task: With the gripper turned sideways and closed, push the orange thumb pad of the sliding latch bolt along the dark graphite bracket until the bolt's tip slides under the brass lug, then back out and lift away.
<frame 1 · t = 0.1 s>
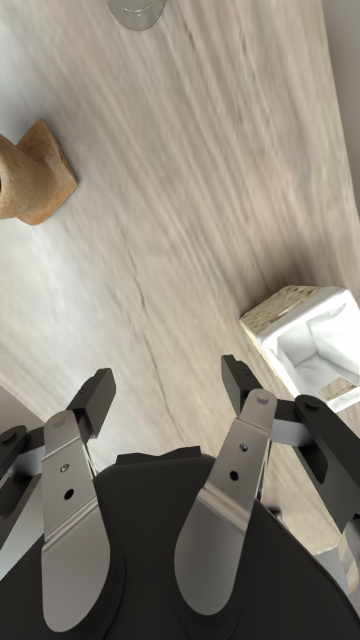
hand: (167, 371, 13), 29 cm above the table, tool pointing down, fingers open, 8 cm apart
storage basket: (281, 332, 45), on the table
stone cup: (47, 190, 33), on the table
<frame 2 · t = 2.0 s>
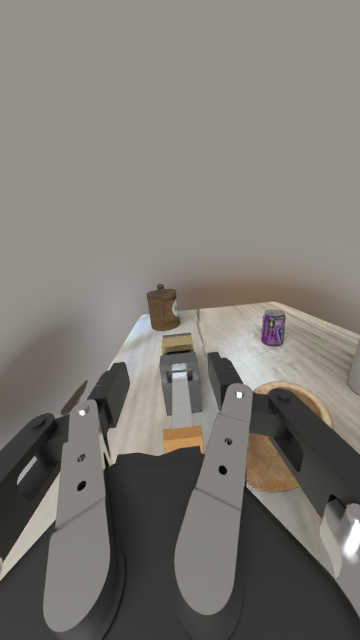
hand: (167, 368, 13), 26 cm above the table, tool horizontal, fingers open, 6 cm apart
beverage can: (271, 343, 65), on the table
latch bracket: (184, 413, 40), on the table
stone cup: (281, 463, 29), on the table
wooden container: (165, 325, 94), on the table
sliding latch bolt: (181, 398, 31), point 10 cm above the table, slide at 0.0 cm
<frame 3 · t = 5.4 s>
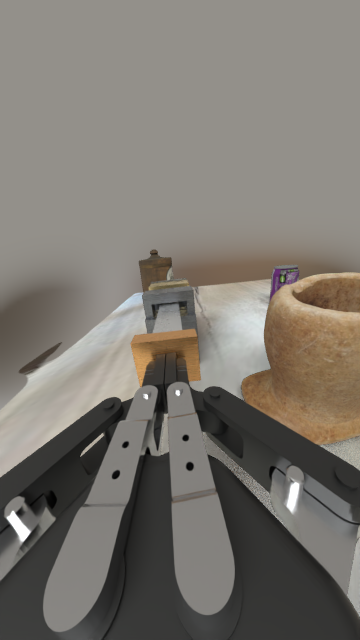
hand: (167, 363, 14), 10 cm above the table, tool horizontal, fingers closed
beverage can: (281, 305, 56), on the table
latch bracket: (176, 366, 30), on the table
stone cup: (317, 413, 20), on the table
wooden container: (160, 299, 84), on the table
sliding latch bolt: (169, 323, 22), point 10 cm above the table, slide at 0.4 cm, touching gripper
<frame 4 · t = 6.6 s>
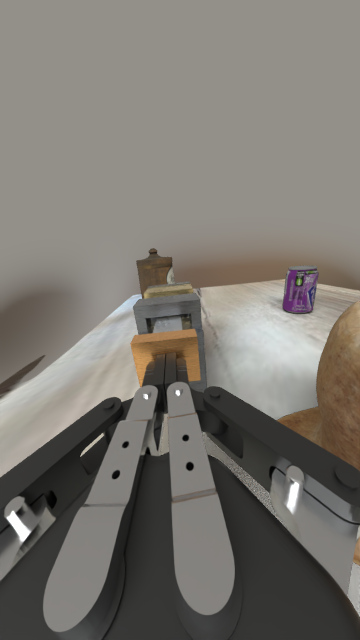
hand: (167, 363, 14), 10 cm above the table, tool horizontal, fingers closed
beverage can: (296, 311, 50), on the table
latch bracket: (178, 394, 24), on the table
wooden container: (160, 302, 78), on the table
sliding latch bolt: (169, 323, 22), point 10 cm above the table, slide at 7.1 cm, touching gripper
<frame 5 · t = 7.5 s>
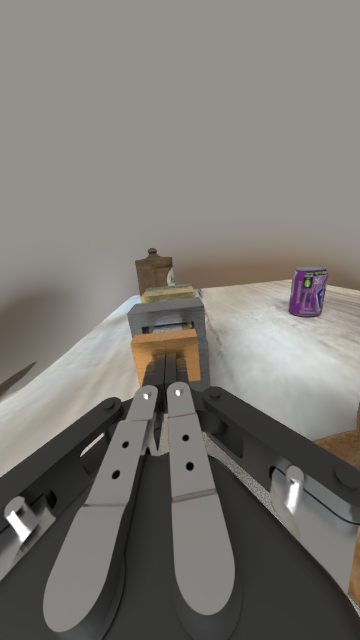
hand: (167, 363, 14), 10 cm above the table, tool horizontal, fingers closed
beverage can: (303, 314, 47), on the table
latch bracket: (178, 411, 21), on the table
wooden container: (159, 303, 75), on the table
sliding latch bolt: (169, 323, 22), point 10 cm above the table, slide at 9.9 cm, touching gripper
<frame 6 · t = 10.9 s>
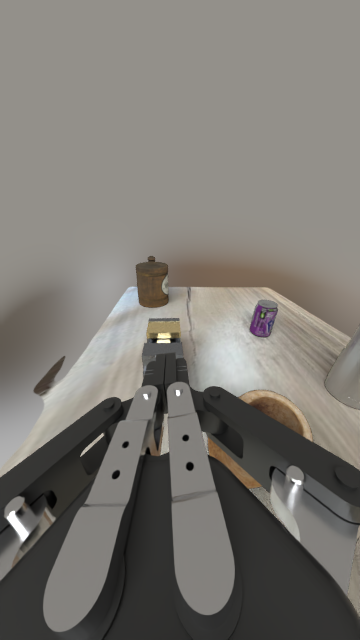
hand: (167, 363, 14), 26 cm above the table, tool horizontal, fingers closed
beverage can: (259, 333, 65), on the table
latch bracket: (164, 401, 40), on the table
stone cup: (252, 459, 30), on the table
wooden container: (153, 301, 89), on the table
sliding latch bolt: (163, 355, 38), point 10 cm above the table, slide at 10.0 cm
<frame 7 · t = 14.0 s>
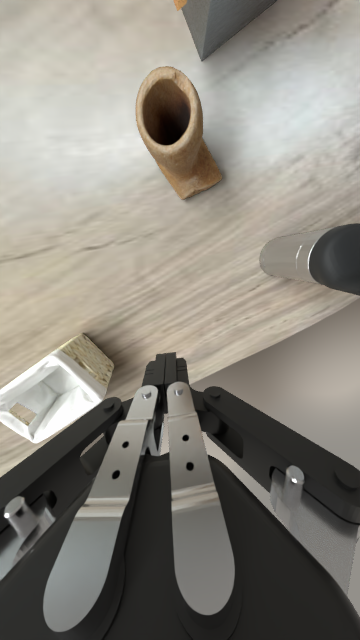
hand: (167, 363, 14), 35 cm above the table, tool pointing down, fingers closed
storage basket: (75, 366, 54), on the table
latch bracket: (190, 33, 31), on the table
stone cup: (179, 166, 38), on the table
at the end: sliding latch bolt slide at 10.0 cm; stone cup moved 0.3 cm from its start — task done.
